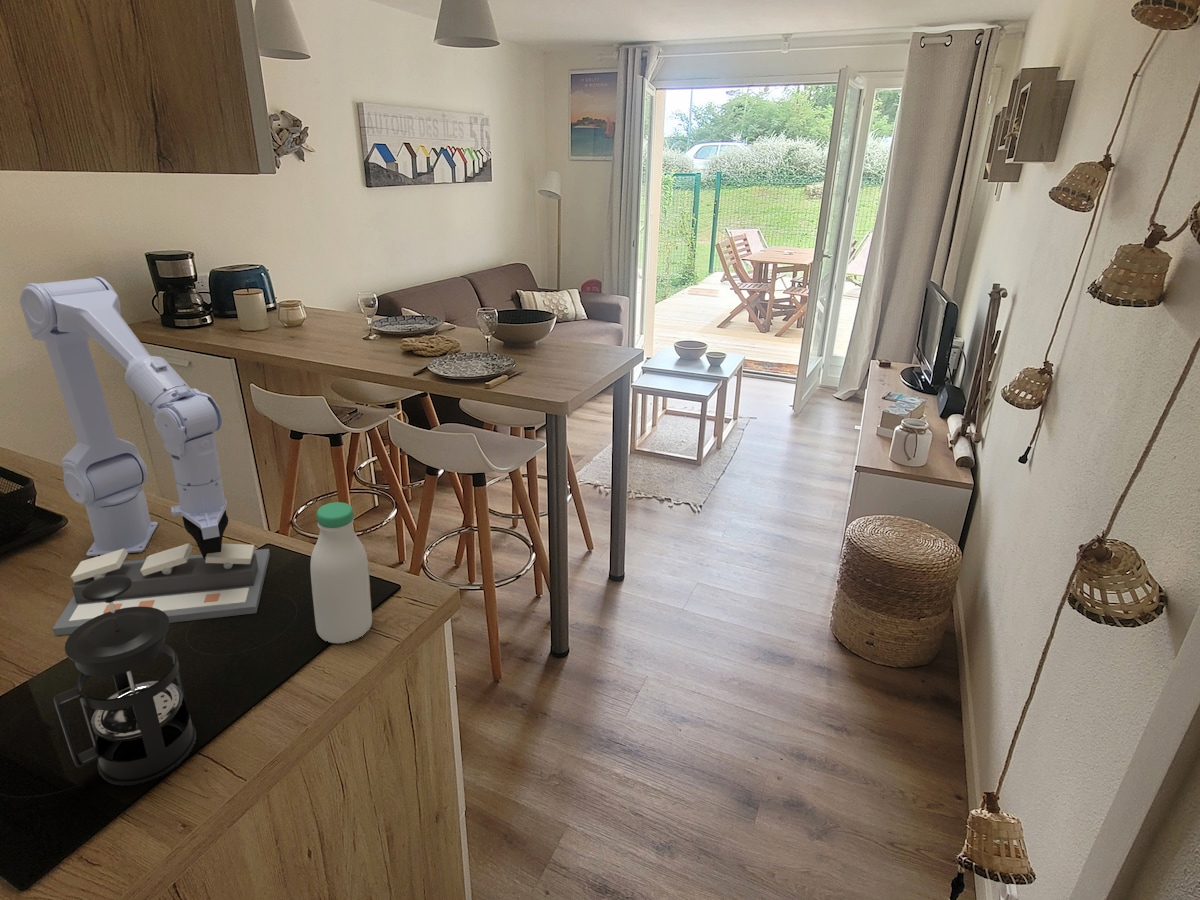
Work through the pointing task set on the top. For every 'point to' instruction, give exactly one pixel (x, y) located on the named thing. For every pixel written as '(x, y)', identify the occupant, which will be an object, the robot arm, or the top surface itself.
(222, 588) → the switch panel
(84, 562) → the switch near
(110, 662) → the french press
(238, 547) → the switch far
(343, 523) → the milk bottle
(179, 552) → the switch middle
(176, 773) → the top surface
